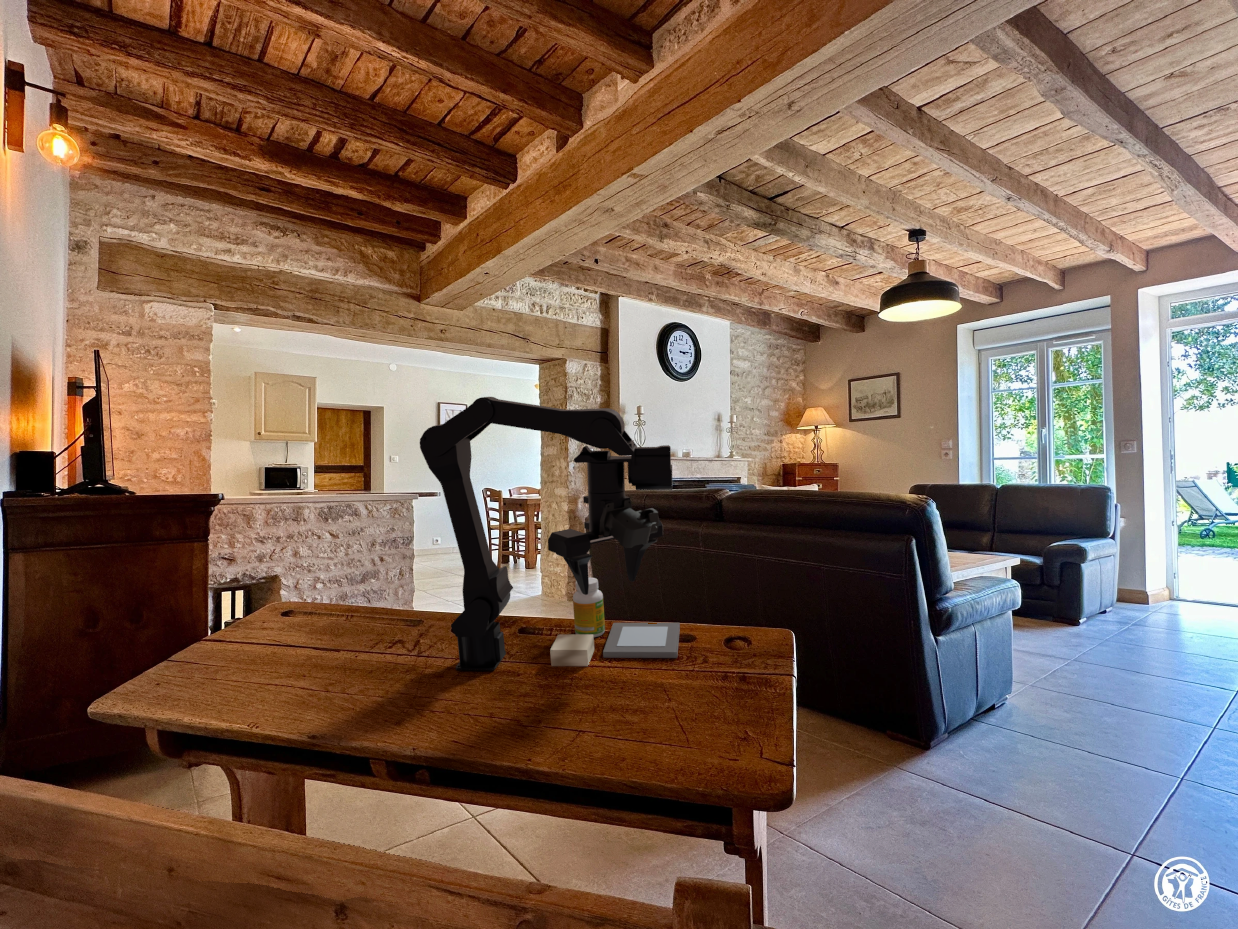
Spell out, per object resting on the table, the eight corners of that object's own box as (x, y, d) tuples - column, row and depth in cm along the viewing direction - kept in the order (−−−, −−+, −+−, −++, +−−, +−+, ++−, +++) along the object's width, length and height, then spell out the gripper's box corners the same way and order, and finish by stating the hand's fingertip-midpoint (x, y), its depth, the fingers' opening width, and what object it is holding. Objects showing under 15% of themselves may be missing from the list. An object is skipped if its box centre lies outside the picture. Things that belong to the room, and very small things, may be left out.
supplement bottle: (601, 639, 109) (598, 585, 108) (571, 638, 110) (567, 585, 109) (608, 627, 114) (604, 575, 113) (579, 626, 115) (576, 575, 114)
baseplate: (603, 657, 102) (603, 651, 102) (613, 628, 114) (613, 622, 113) (677, 658, 100) (676, 651, 100) (679, 628, 112) (679, 622, 112)
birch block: (551, 667, 100) (550, 650, 100) (559, 651, 106) (558, 634, 106) (588, 667, 99) (587, 650, 99) (594, 651, 105) (593, 634, 105)
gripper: (586, 507, 85) (590, 617, 87) (686, 489, 96) (687, 587, 98) (544, 495, 93) (548, 596, 96) (640, 480, 105) (641, 570, 107)
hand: (609, 587), depth 99 cm, fingers open, 9 cm apart
